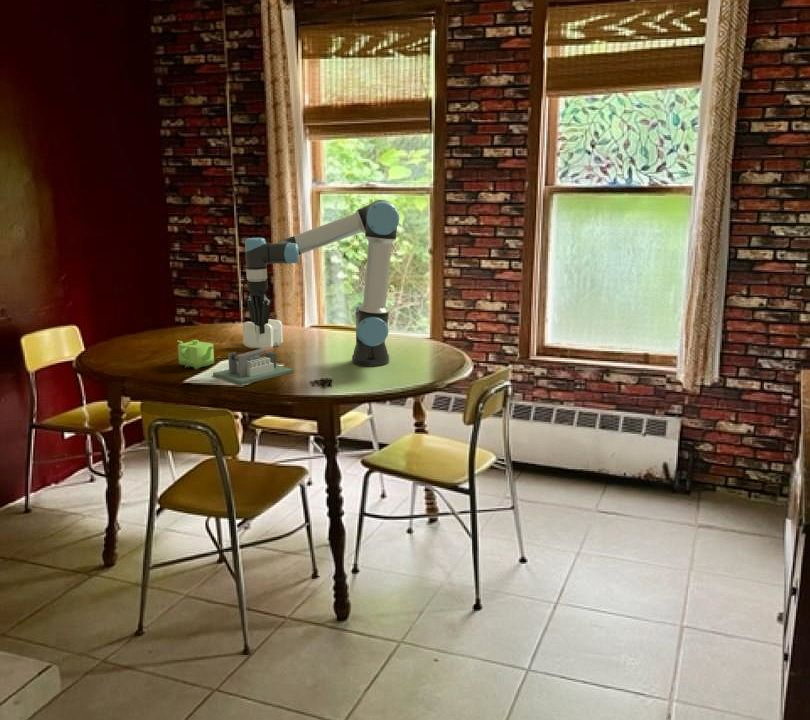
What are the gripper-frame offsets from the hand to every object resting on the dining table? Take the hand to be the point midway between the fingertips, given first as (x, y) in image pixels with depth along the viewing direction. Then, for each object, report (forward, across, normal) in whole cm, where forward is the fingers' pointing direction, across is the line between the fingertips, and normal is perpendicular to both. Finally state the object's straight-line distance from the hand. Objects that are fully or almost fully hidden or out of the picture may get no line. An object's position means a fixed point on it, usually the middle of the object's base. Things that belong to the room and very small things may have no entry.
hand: (260, 341), depth 298 cm
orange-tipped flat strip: (+5, 0, +3) cm, 6 cm away
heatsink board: (+12, 0, +4) cm, 13 cm away
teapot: (+12, +26, +12) cm, 31 cm away
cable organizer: (+12, +34, -27) cm, 45 cm away
